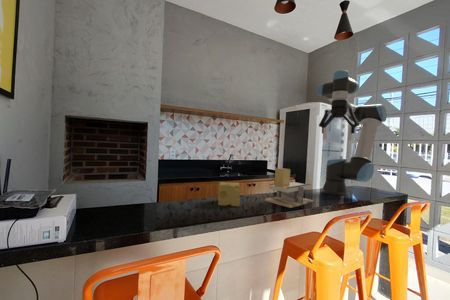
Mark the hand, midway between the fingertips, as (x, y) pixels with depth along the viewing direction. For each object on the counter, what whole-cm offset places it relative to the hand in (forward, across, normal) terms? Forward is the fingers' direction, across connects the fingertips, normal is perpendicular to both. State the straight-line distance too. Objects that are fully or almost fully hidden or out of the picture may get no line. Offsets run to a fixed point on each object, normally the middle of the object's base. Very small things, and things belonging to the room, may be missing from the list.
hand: (337, 139), depth 125 cm
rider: (+26, -16, -26) cm, 40 cm away
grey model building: (+31, -15, -18) cm, 39 cm away
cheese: (+35, -30, -50) cm, 68 cm away
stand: (+35, -16, -18) cm, 42 cm away
